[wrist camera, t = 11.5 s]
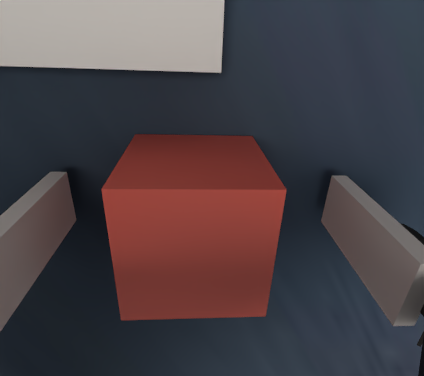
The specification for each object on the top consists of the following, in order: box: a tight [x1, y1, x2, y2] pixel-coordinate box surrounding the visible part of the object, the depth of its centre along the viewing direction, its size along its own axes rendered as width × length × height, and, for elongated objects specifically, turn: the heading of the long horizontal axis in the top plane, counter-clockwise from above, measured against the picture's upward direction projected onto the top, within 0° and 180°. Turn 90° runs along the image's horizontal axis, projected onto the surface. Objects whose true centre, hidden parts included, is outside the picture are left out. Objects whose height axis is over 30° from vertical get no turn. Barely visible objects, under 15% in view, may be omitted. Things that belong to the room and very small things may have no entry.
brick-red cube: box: [101, 134, 286, 320], centre depth 13 cm, size 6×6×6 cm
